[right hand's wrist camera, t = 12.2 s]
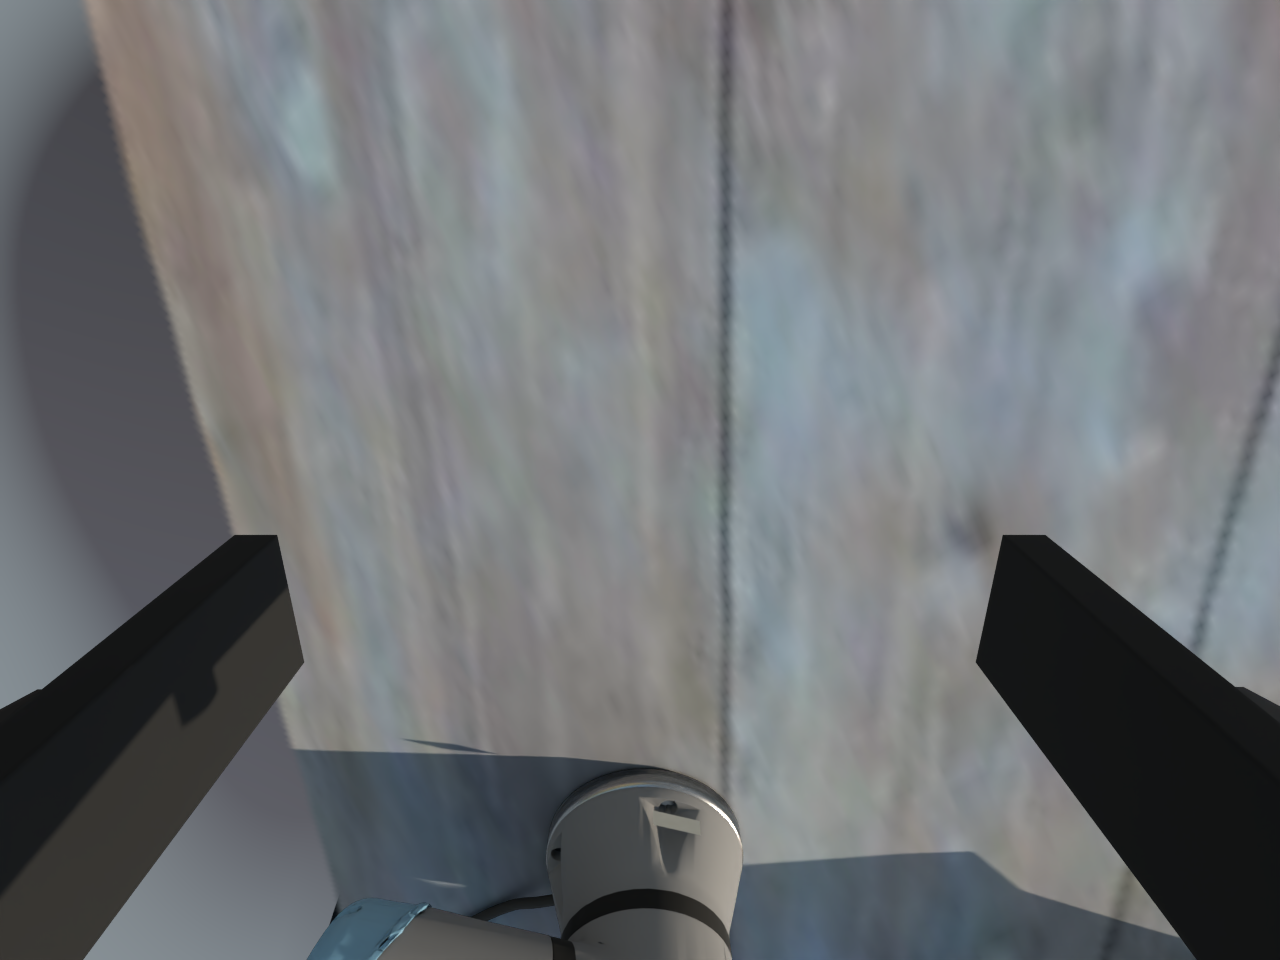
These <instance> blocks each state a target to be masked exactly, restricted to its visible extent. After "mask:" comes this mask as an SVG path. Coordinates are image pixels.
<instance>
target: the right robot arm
mask: <svg viewBox="0 0 1280 960" xmlns="http://www.w3.org/2000/svg"><path fill="white" fill-rule="evenodd" d="M303 663H304V659H303V654H302V650H301V645H300V640H299V636H298V631H297V626H296V622H295V617H294V612H293V607H292V603H291V598H290V593H289V589H288V584H287V579H286V575H285V570H284V565H283V560H282V556H281V551H280V546H279V542H278V537H277V535H234V536H233V537H232V538H230V539H229V540H228V541H227V542H225V543H224V544H223V545H222V546H220V547H219V548H218V549H217V550H215V551H214V552H213V553H212V554H210V555H209V556H208V557H207V558H205V559H204V560H203V561H202V562H201V563H199V564H198V565H197V566H195V567H194V568H193V569H192V570H190V571H189V572H188V573H187V574H186V575H184V576H183V577H182V578H180V579H179V580H178V581H177V582H175V583H174V584H173V585H172V586H170V587H169V588H168V589H167V590H166V591H164V592H163V593H162V594H160V595H159V596H158V597H157V598H155V599H154V600H153V601H152V602H151V603H149V604H148V605H147V606H145V607H144V608H143V609H142V610H141V611H139V612H138V613H137V614H135V615H134V616H133V617H132V618H130V619H129V620H128V621H127V622H125V623H124V624H123V625H122V626H120V627H119V628H118V629H117V630H116V631H114V632H113V633H112V634H110V635H109V636H108V637H107V638H106V639H104V640H103V641H102V642H101V643H99V644H98V645H97V646H95V647H94V648H93V649H92V650H91V651H89V652H88V653H87V654H86V655H84V656H83V657H82V658H80V659H79V660H78V661H77V662H75V663H74V664H73V665H72V666H71V667H69V668H68V669H67V670H66V671H64V672H63V673H62V674H61V675H59V676H58V677H57V678H56V679H54V680H53V681H52V682H51V683H49V684H48V685H47V686H46V687H44V688H43V689H42V690H36V691H34V692H32V693H30V694H28V695H26V696H24V697H22V698H21V699H19V700H17V701H15V702H13V703H11V704H9V705H8V706H6V707H4V708H2V709H0V960H83V959H84V958H85V956H86V955H87V954H88V952H89V951H90V950H91V948H92V947H93V946H94V944H95V943H96V942H97V940H98V939H99V938H100V936H101V935H102V934H103V932H104V931H105V930H106V928H107V927H108V926H109V924H110V923H111V921H112V920H113V919H114V917H115V916H116V915H117V913H118V912H119V911H120V909H121V908H122V907H123V905H124V904H125V903H126V901H127V900H128V899H129V897H130V896H131V895H132V893H133V892H134V891H135V889H136V888H137V887H138V885H139V884H140V882H141V881H142V880H143V878H144V877H145V876H146V874H147V873H148V872H149V870H150V869H151V868H152V866H153V865H154V864H155V862H156V861H157V860H158V858H159V857H160V856H161V854H162V853H163V852H164V850H165V849H166V847H167V846H168V845H169V843H170V842H171V841H172V839H173V838H174V837H175V835H176V834H177V833H178V831H179V830H180V829H181V827H182V826H183V824H184V823H185V822H186V821H187V819H188V818H189V817H190V815H191V814H192V812H193V811H194V810H195V808H196V807H197V806H198V804H199V803H200V802H201V800H202V799H203V798H204V796H205V795H206V794H207V792H208V791H209V790H210V788H211V787H212V786H213V784H214V783H215V782H216V780H217V779H218V778H219V776H220V775H221V774H222V772H223V771H224V769H225V768H226V767H227V765H228V764H229V763H230V761H231V760H232V759H233V757H234V756H235V755H236V753H237V752H238V751H239V749H240V748H241V747H242V745H243V744H244V743H245V741H246V740H247V739H248V737H249V736H250V734H251V733H252V732H253V730H254V729H255V728H256V726H257V725H258V724H259V722H260V721H261V720H262V718H263V717H264V716H265V714H266V713H267V712H268V710H269V709H270V708H271V706H272V705H273V704H274V702H275V701H276V700H277V698H278V697H279V696H280V694H281V693H282V691H283V690H284V689H285V687H286V686H287V685H288V683H289V682H290V681H291V679H292V678H293V677H294V675H295V674H296V673H297V671H298V670H299V669H300V667H301V666H302V665H303ZM976 663H977V665H978V666H979V667H980V669H981V670H982V671H983V673H984V674H985V675H986V677H987V678H988V679H989V681H990V682H991V683H992V685H993V686H994V687H995V689H996V690H997V691H998V693H999V694H1000V696H1001V697H1002V698H1003V700H1004V701H1005V702H1006V704H1007V705H1008V706H1009V708H1010V709H1011V710H1012V712H1013V713H1014V714H1015V716H1016V717H1017V718H1018V720H1019V721H1020V722H1021V724H1022V725H1023V726H1024V728H1025V729H1026V730H1027V732H1028V733H1029V735H1030V736H1031V737H1032V739H1033V740H1034V741H1035V743H1036V744H1037V745H1038V747H1039V748H1040V749H1041V751H1042V752H1043V753H1044V755H1045V756H1046V757H1047V759H1048V760H1049V761H1050V763H1051V764H1052V765H1053V767H1054V768H1055V769H1056V771H1057V772H1058V774H1059V775H1060V776H1061V778H1062V779H1063V780H1064V782H1065V783H1066V784H1067V786H1068V787H1069V788H1070V790H1071V791H1072V792H1073V794H1074V795H1075V796H1076V798H1077V799H1078V800H1079V802H1080V803H1081V804H1082V806H1083V807H1084V808H1085V810H1086V811H1087V813H1088V814H1089V815H1090V817H1091V818H1092V819H1093V821H1094V822H1095V823H1096V825H1097V826H1098V827H1099V829H1100V830H1101V831H1102V833H1103V834H1104V835H1105V837H1106V838H1107V839H1108V841H1109V842H1110V843H1111V845H1112V846H1113V848H1114V849H1115V850H1116V852H1117V853H1118V854H1119V856H1120V857H1121V858H1122V860H1123V861H1124V862H1125V864H1126V865H1127V866H1128V868H1129V869H1130V870H1131V872H1132V873H1133V874H1134V876H1135V877H1136V878H1137V880H1138V881H1139V882H1140V884H1141V885H1142V887H1143V888H1144V889H1145V891H1146V892H1147V893H1148V895H1149V896H1150V897H1151V899H1152V900H1153V901H1154V903H1155V904H1156V905H1157V907H1158V908H1159V909H1160V911H1161V912H1162V913H1163V915H1164V916H1165V917H1166V919H1167V920H1168V921H1169V923H1170V924H1171V926H1172V927H1173V928H1174V930H1175V931H1176V932H1177V934H1178V935H1179V936H1180V938H1181V939H1182V940H1183V942H1184V943H1185V944H1186V946H1187V947H1188V948H1189V950H1190V951H1191V952H1192V954H1193V955H1194V956H1195V958H1196V959H1197V960H1280V706H1278V705H1276V704H1274V703H1273V702H1271V701H1269V700H1267V699H1265V698H1263V697H1261V696H1259V695H1258V694H1256V693H1254V692H1252V691H1250V690H1248V689H1246V688H1244V687H1234V686H1233V685H1232V684H1231V683H1229V682H1228V681H1227V680H1226V679H1224V678H1223V677H1222V676H1221V675H1219V674H1218V673H1217V672H1216V671H1214V670H1213V669H1212V668H1211V667H1209V666H1208V665H1207V664H1206V663H1204V662H1203V661H1202V660H1201V659H1200V658H1198V657H1197V656H1196V655H1195V654H1193V653H1192V652H1191V651H1190V650H1188V649H1187V648H1186V647H1185V646H1183V645H1182V644H1181V643H1180V642H1178V641H1177V640H1176V639H1175V638H1173V637H1172V636H1171V635H1170V634H1168V633H1167V632H1166V631H1165V630H1163V629H1162V628H1161V627H1160V626H1158V625H1157V624H1156V623H1155V622H1153V621H1152V620H1151V619H1150V618H1148V617H1147V616H1146V615H1145V614H1143V613H1142V612H1141V611H1140V610H1138V609H1137V608H1136V607H1135V606H1133V605H1132V604H1131V603H1130V602H1128V601H1127V600H1126V599H1125V598H1123V597H1122V596H1121V595H1120V594H1118V593H1117V592H1116V591H1115V590H1113V589H1112V588H1111V587H1110V586H1108V585H1107V584H1106V583H1105V582H1103V581H1102V580H1101V579H1100V578H1098V577H1097V576H1096V575H1095V574H1093V573H1092V572H1091V571H1090V570H1088V569H1087V568H1086V567H1085V566H1083V565H1082V564H1081V563H1080V562H1078V561H1077V560H1076V559H1075V558H1073V557H1072V556H1071V555H1070V554H1068V553H1067V552H1066V551H1065V550H1063V549H1062V548H1061V547H1060V546H1058V545H1057V544H1056V543H1055V542H1053V541H1052V540H1051V539H1050V538H1048V537H1047V536H1046V535H1003V537H1002V542H1001V546H1000V551H999V556H998V560H997V565H996V570H995V575H994V579H993V584H992V589H991V593H990V598H989V603H988V607H987V612H986V617H985V622H984V626H983V631H982V636H981V640H980V645H979V650H978V654H977V659H976ZM546 865H547V871H548V876H549V881H550V885H551V890H552V895H545V896H539V897H527V898H518V899H513V900H509V901H506V902H503V903H501V904H498V905H495V906H493V907H491V908H489V909H486V910H484V911H482V912H480V913H478V914H476V915H474V916H473V917H467V916H463V915H459V914H455V913H451V912H447V911H443V910H439V909H435V908H432V906H431V905H430V904H427V903H421V904H418V905H415V904H408V903H402V902H395V901H389V900H384V899H379V898H366V899H362V900H359V901H356V902H354V903H352V904H351V905H349V906H348V907H346V908H345V909H344V910H343V911H342V912H340V909H339V905H338V902H337V903H336V906H335V909H334V912H333V915H332V918H331V921H330V924H329V927H328V928H327V929H326V931H325V932H324V933H323V935H322V936H321V938H320V939H319V941H318V942H317V944H316V945H315V947H314V948H313V950H312V952H311V953H310V955H309V957H308V958H307V960H732V956H731V947H730V938H729V931H730V926H731V922H732V917H733V912H734V907H735V902H736V897H737V891H738V886H739V881H740V877H741V872H742V867H743V850H742V843H741V837H740V831H739V826H738V823H737V820H736V818H735V815H734V813H733V812H732V810H731V808H730V807H729V806H728V804H727V803H726V802H725V801H724V800H723V799H722V798H721V797H720V796H719V795H718V794H717V793H716V792H715V791H714V790H712V789H711V788H709V787H708V786H706V785H705V784H703V783H701V782H699V781H697V780H695V779H693V778H691V777H688V776H685V775H682V774H679V773H675V772H671V771H665V770H657V769H631V770H624V771H619V772H614V773H610V774H607V775H604V776H601V777H599V778H596V779H594V780H592V781H590V782H588V783H586V784H585V785H583V786H581V787H580V788H578V789H577V790H576V791H574V792H573V793H572V794H571V795H570V796H569V797H568V798H567V799H566V800H565V801H564V802H563V803H562V804H561V806H560V807H559V809H558V810H557V812H556V814H555V816H554V818H553V820H552V823H551V826H550V831H549V837H548V844H547V851H546ZM554 905H555V909H556V913H557V918H558V923H559V927H560V932H561V939H559V938H555V937H551V936H549V935H544V934H540V933H536V932H531V931H527V930H522V929H518V928H514V927H509V926H505V925H500V924H496V923H492V922H487V921H488V920H490V919H492V918H495V917H497V916H499V915H502V914H505V913H508V912H511V911H514V910H518V909H532V908H541V907H547V906H554Z"/></svg>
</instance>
